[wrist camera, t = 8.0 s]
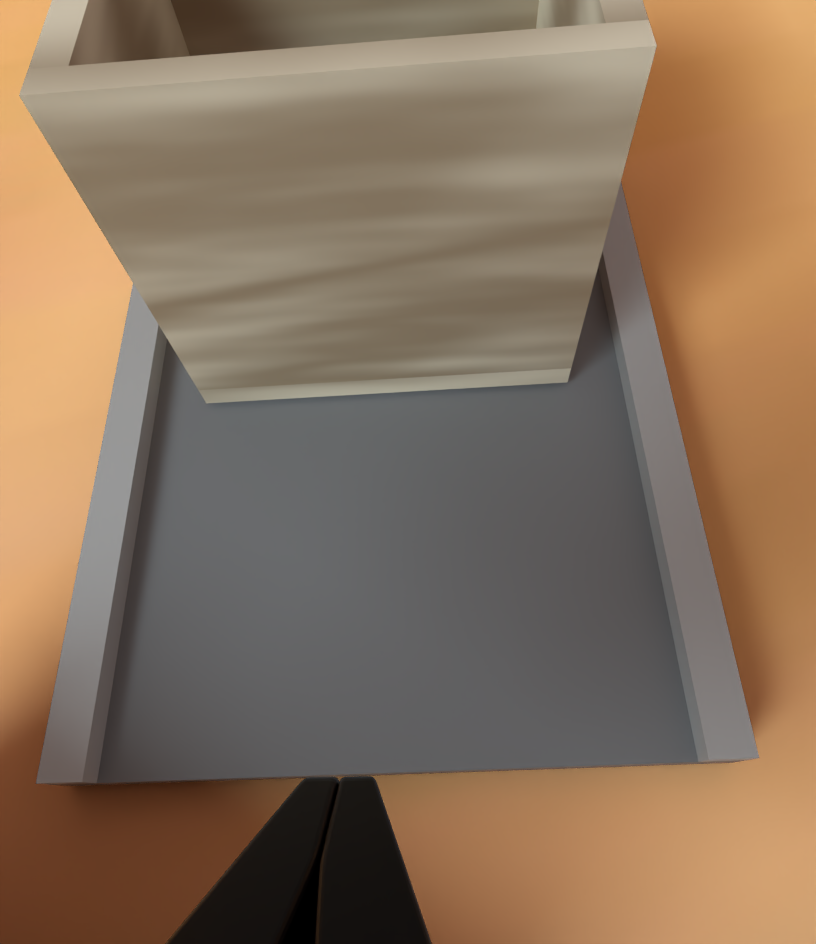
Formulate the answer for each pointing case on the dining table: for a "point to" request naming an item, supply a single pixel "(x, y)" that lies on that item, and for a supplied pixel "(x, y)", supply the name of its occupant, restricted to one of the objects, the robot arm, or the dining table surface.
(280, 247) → the box
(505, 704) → the grey tray
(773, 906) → the dining table surface
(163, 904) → the dining table surface
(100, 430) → the dining table surface
